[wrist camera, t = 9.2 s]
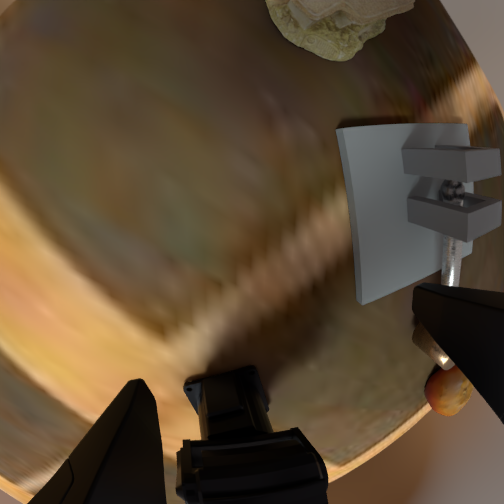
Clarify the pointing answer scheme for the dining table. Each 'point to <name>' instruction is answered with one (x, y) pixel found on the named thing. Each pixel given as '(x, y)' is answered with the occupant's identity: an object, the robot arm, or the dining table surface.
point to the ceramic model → (333, 23)
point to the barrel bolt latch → (411, 199)
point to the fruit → (448, 391)
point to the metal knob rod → (444, 275)
